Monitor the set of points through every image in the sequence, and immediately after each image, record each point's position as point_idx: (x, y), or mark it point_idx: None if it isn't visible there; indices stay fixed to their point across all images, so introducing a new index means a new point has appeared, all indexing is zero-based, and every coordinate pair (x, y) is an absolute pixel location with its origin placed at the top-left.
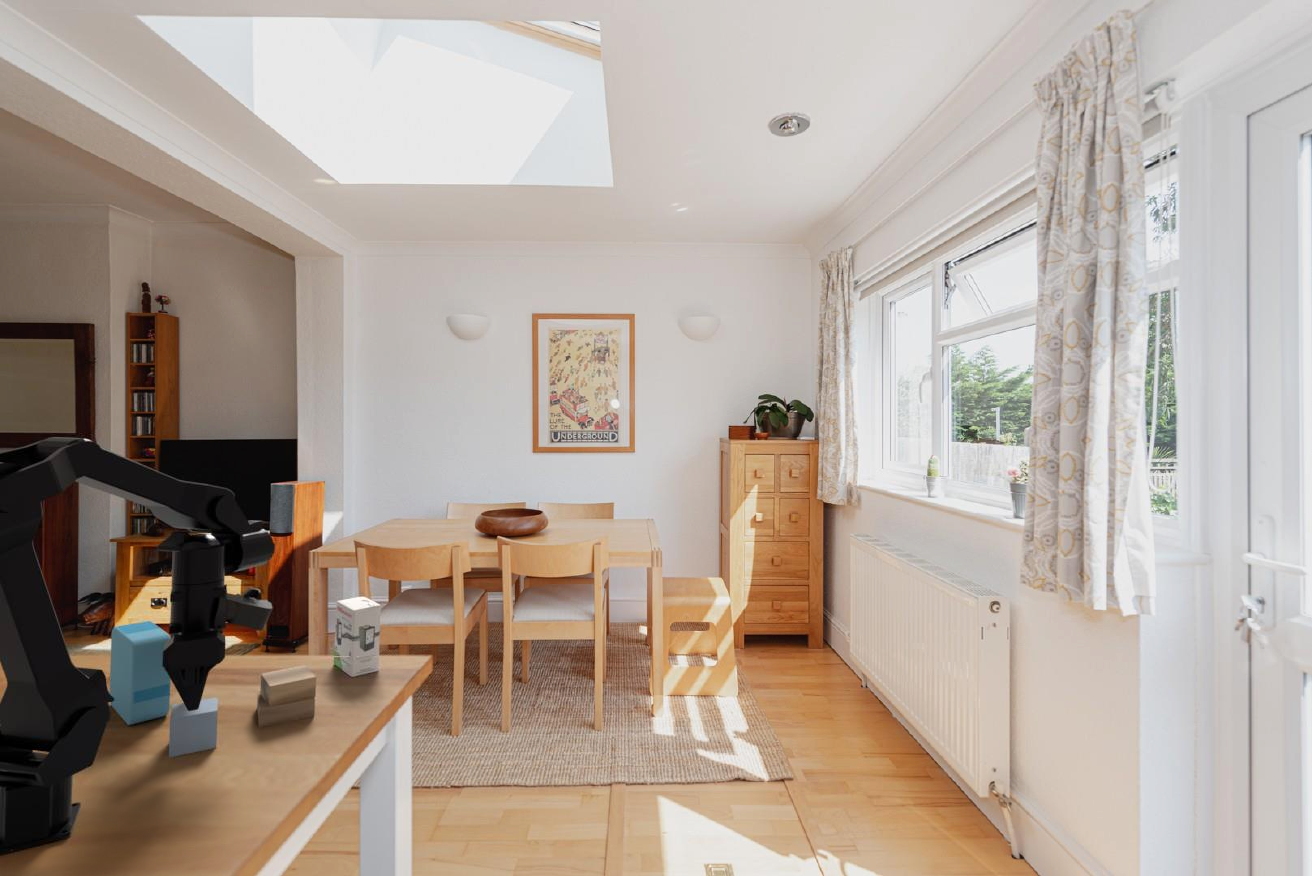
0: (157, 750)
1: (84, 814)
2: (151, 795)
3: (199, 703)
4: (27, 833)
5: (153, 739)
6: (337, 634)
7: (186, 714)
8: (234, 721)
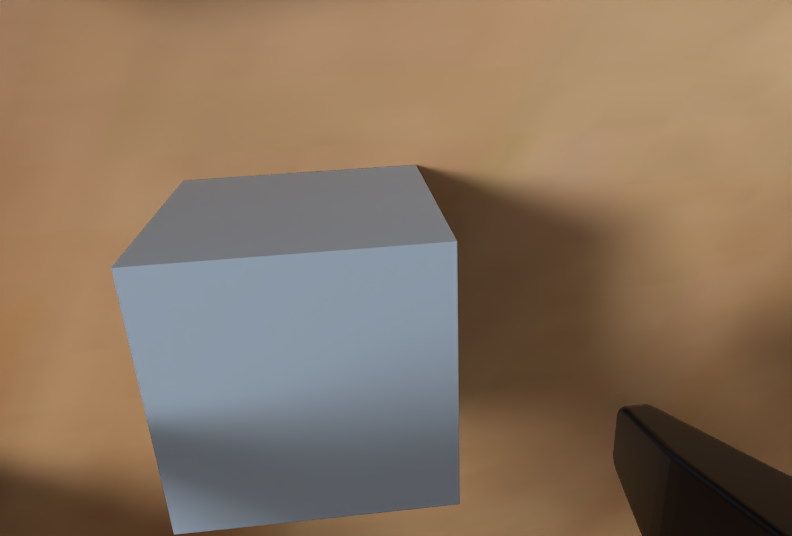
0: None
1: None
2: (770, 366)
3: (693, 428)
4: None
5: None
6: None
7: (421, 430)
8: (27, 84)
